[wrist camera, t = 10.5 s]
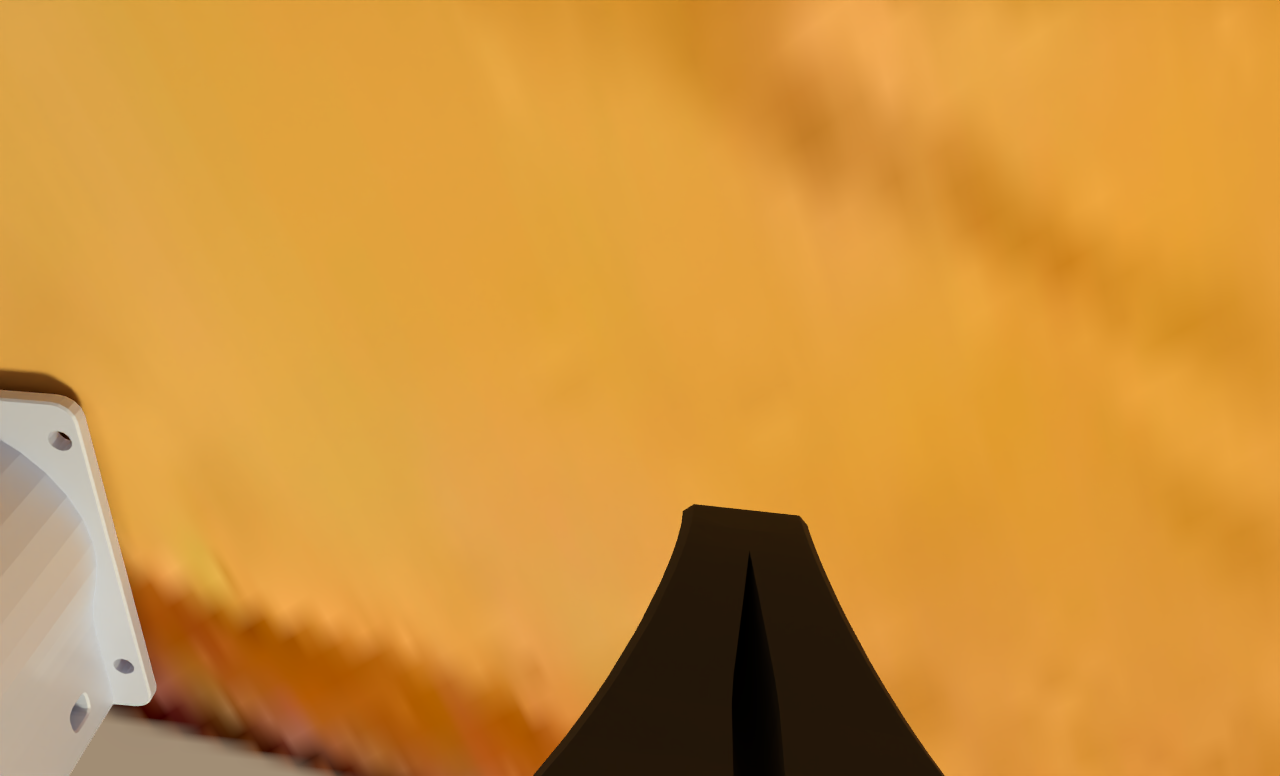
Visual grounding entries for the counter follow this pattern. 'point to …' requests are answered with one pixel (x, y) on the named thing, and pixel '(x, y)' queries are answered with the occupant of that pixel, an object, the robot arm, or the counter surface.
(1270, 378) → the counter surface
